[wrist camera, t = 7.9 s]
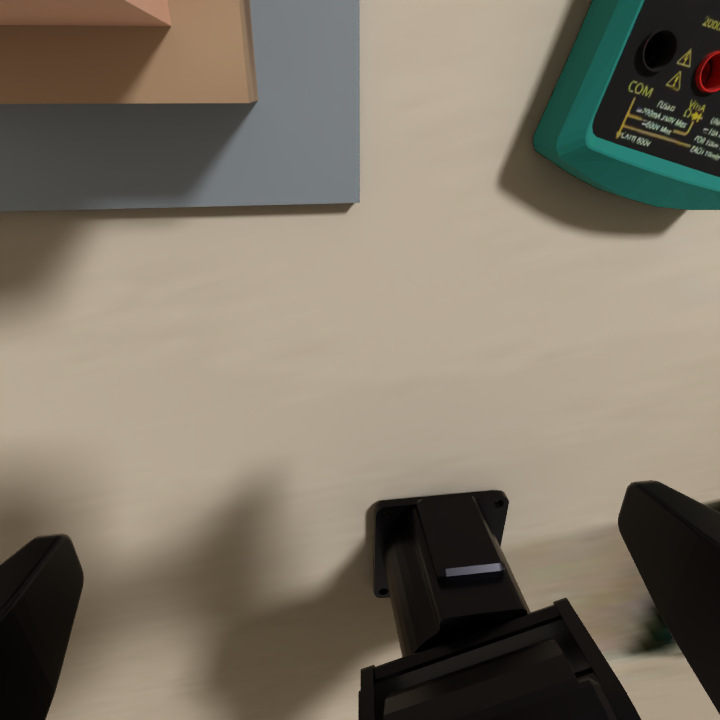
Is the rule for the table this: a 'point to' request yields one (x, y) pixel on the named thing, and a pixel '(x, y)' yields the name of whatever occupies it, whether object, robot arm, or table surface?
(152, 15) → the terracotta cube
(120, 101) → the walnut base block
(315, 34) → the grey flat square plate
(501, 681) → the robot arm
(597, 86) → the digital multimeter
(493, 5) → the table surface
